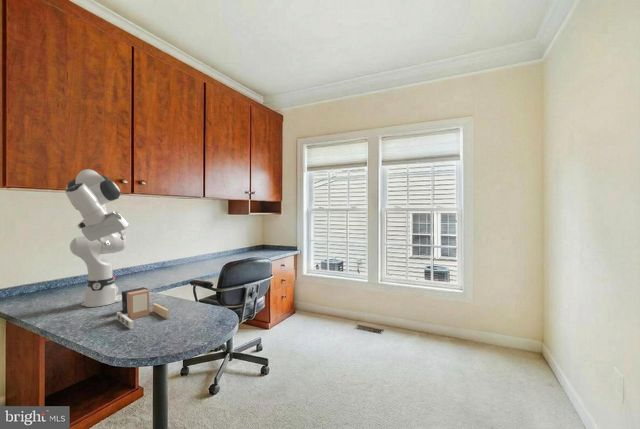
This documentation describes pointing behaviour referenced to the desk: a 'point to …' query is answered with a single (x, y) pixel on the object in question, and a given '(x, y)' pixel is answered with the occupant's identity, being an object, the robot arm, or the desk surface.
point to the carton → (138, 304)
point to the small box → (124, 298)
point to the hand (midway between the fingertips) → (116, 242)
